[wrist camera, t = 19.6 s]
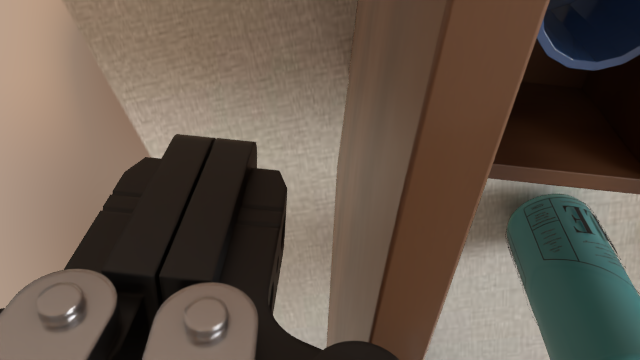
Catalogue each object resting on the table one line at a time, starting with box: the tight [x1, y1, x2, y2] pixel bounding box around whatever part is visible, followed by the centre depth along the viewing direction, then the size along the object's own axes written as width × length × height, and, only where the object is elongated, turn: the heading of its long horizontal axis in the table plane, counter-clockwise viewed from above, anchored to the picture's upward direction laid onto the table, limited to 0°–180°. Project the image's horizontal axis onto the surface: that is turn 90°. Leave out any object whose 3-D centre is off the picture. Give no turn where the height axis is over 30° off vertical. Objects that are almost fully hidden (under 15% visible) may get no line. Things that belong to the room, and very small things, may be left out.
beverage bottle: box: [505, 194, 640, 360], centre depth 32 cm, size 6×7×20 cm
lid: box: [327, 0, 550, 360], centre depth 14 cm, size 17×17×1 cm
